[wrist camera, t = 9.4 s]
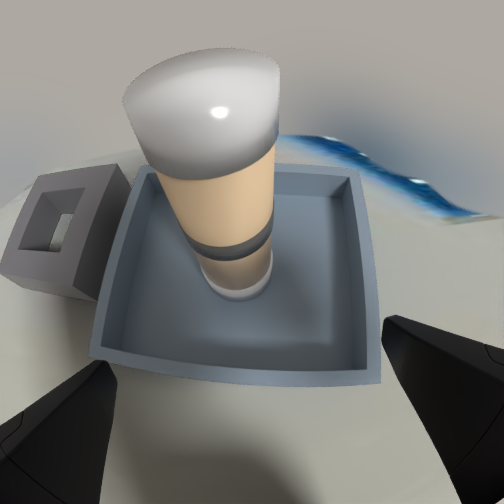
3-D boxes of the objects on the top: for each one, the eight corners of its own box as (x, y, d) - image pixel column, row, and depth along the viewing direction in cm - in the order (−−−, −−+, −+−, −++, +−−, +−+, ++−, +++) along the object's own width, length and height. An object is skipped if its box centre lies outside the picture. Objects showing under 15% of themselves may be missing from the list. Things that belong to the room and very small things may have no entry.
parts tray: (348, 195, 21) (358, 169, 18) (361, 383, 14) (380, 383, 12) (152, 189, 22) (140, 165, 19) (112, 362, 15) (87, 356, 13)
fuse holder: (132, 190, 22) (117, 163, 19) (99, 302, 17) (72, 286, 14) (55, 196, 23) (38, 175, 19) (22, 287, 18) (-3, 272, 15)
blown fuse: (283, 259, 18) (305, 61, 6) (249, 314, 16) (214, 138, 5) (229, 231, 19) (191, 44, 7) (193, 281, 17) (94, 107, 6)
